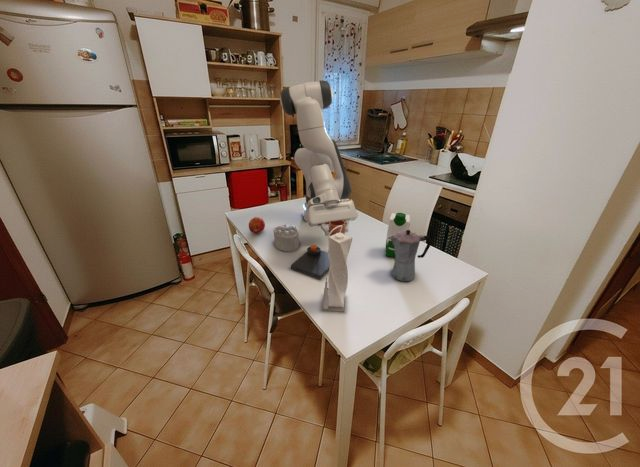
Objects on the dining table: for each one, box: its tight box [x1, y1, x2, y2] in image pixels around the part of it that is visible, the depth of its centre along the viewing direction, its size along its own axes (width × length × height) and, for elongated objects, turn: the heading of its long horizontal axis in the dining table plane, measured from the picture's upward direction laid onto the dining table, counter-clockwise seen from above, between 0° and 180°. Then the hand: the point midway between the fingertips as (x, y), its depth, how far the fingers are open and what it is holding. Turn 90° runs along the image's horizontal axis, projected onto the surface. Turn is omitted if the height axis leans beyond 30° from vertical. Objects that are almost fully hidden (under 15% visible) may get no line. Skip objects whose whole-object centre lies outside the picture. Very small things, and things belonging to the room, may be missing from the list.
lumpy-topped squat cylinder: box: [273, 224, 300, 252], centre depth 123 cm, size 10×13×9 cm
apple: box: [248, 216, 266, 234], centre depth 134 cm, size 8×8×8 cm
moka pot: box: [389, 229, 433, 282], centre depth 100 cm, size 10×15×20 cm, turn 88°
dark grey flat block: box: [290, 246, 330, 280], centre depth 110 cm, size 16×14×4 cm
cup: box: [328, 220, 346, 236], centre depth 101 cm, size 6×6×10 cm
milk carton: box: [385, 212, 411, 259], centre depth 114 cm, size 9×9×20 cm
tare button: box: [309, 244, 318, 252], centre depth 114 cm, size 3×3×2 cm
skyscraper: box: [322, 225, 353, 313], centre depth 84 cm, size 8×8×28 cm
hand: (337, 233), depth 100 cm, fingers closed on cup, 6 cm apart
